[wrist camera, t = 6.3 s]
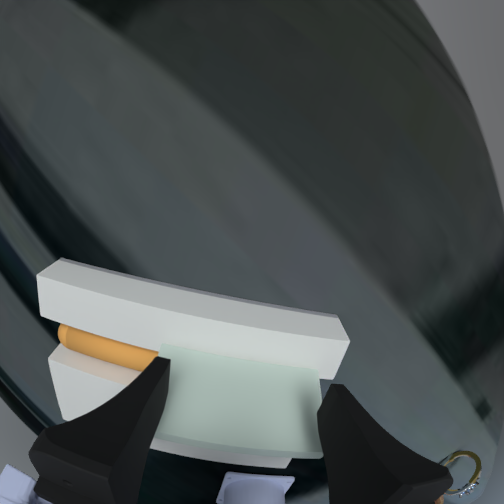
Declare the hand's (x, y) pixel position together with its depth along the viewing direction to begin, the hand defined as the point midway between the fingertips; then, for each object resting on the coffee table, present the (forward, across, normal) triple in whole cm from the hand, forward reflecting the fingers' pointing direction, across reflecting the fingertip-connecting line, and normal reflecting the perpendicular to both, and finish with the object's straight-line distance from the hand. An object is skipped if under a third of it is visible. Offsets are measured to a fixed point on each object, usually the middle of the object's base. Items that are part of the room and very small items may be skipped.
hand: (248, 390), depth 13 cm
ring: (+9, -34, +21) cm, 41 cm away
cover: (+3, 0, +4) cm, 5 cm away
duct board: (+9, +4, +8) cm, 13 cm away
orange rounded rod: (+7, +8, +5) cm, 12 cm away
